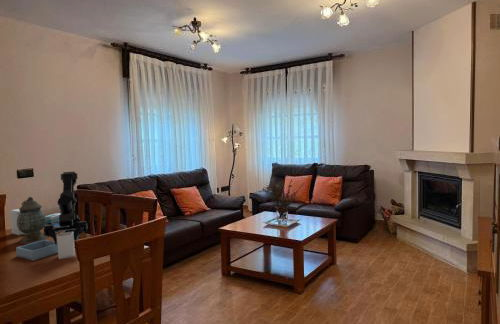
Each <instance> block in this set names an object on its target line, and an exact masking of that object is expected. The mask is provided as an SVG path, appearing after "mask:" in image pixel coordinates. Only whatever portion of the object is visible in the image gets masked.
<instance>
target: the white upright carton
mask: <svg viewBox="0 0 500 324" xmlns="http://www.w3.org/2000/svg"><path fill="white" fill-rule="evenodd" d="M56 237H57V242H58V253H57V254H58V257H57V258H58V260H62V259H68V258H74V257H75V254H76V253H75V252H76V250H75V248H74V247H75V239H74V231H73V232H65V231H64V232H58V234H57V235H56Z"/></svg>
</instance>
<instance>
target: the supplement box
mask: <svg viewBox="0 0 500 324" xmlns="http://www.w3.org/2000/svg"><path fill="white" fill-rule="evenodd" d="M19 209H20V208H17V209H10V223H11V234H13V235H17V236H22V235H25V233H22V232H21V231H20V230H19V229H18V227H17V218H18V216H19V214H20V210H19Z"/></svg>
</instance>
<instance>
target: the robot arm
mask: <svg viewBox="0 0 500 324" xmlns="http://www.w3.org/2000/svg"><path fill="white" fill-rule="evenodd" d="M78 177H79V176H78V173H77V172H76V171H63V173H60V181H62V183H63V185H62V187H63V189H62V192H61V193H60V194H59V198H58V200H57V206H58V207H59V210H60V213H61V214H60V215H59V225H60V227H54V226H53V225H47V226H45V227H43V232H44V233H45V234H44V233H43V234H44V235H45V236H47V237H49V238H52V239H53V241H54V242H55V245H57V233H56V231H60V232H63V231H64V233H65V232H73V231H74V241H75V240H77V241H78V239H79V238H81V234H83V233H85V232H87V231H88V222H87V221H86V220H85V221H82V220H81V219H80V217H79V216H78V215H79V214H78V213H77V212H76V210H75V207H76V206H75V205H76V203H77V198H76V197H75V185H76V184H77V180H78V179H79V178H78Z"/></svg>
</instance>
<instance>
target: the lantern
mask: <svg viewBox="0 0 500 324" xmlns="http://www.w3.org/2000/svg"><path fill="white" fill-rule="evenodd" d="M41 208H43V206H42V205H41V204H40V203H38V202H37V201H36V200H34V199H33V197H32V196H29V197H27V199H26V200H24V201H23V202H22V203H21V207H19V208H18V209H19V210H20V214H19V216H18V218H17V227H18V229H19V230H20V231H21V232H22V233H25V234H23V237H22V238H21V239H20V240H19V243H20V244H31V243H35V242H38V241H42V240H48V239H47V238H48V236H45V234H44V233H42V232H41V231H42V230H44V226H45V224H46V217H45V216H46V215H45V213H44V212H43V211H42V209H41Z"/></svg>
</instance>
